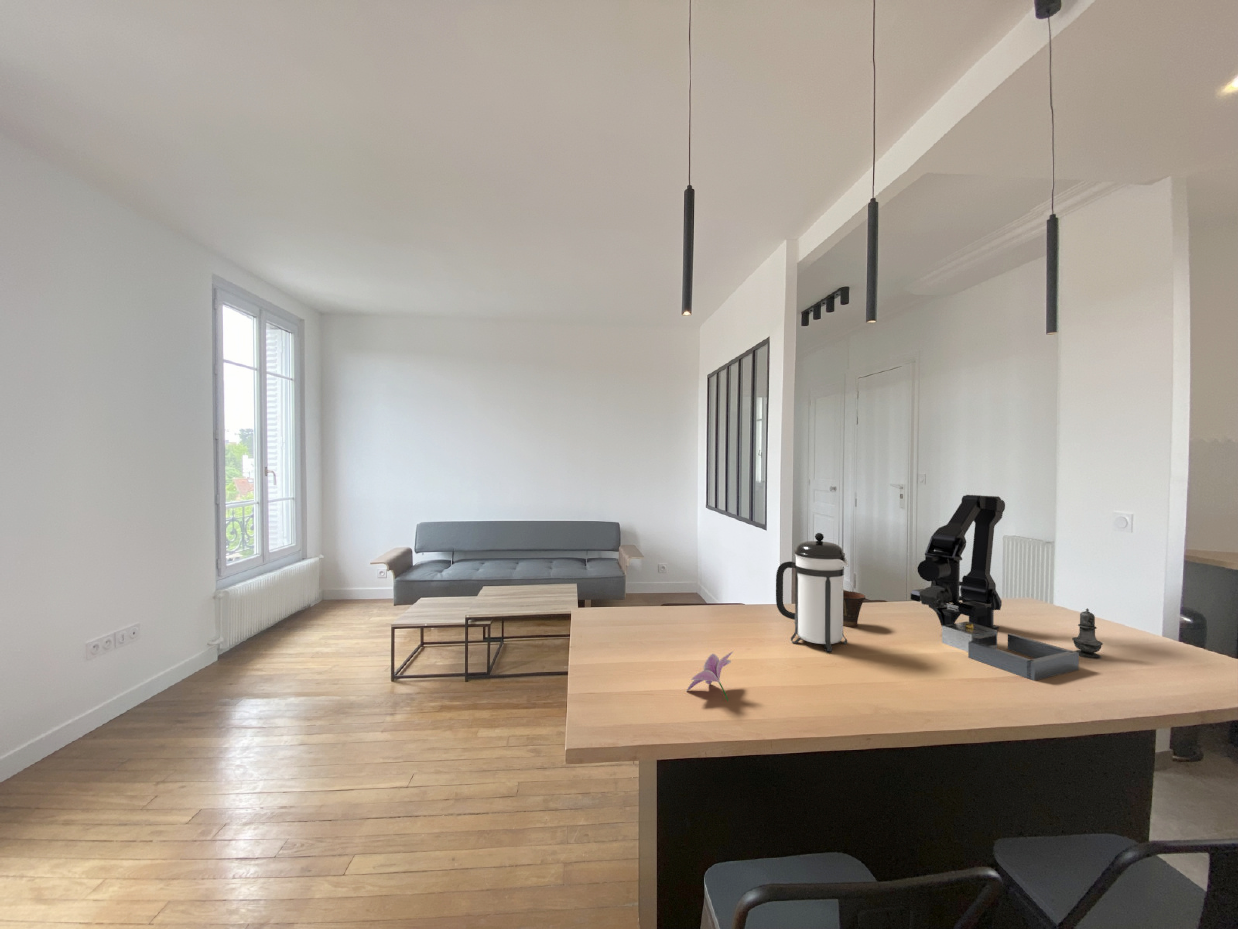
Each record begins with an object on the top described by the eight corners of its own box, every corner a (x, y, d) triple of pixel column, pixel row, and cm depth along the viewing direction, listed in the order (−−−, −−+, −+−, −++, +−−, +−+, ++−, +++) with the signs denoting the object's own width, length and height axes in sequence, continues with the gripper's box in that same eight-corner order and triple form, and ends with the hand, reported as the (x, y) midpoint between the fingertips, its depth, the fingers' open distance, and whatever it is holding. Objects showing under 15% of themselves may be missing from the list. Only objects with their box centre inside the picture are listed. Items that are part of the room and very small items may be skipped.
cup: (875, 627, 150) (869, 593, 150) (844, 631, 150) (839, 597, 150) (861, 619, 158) (856, 587, 159) (832, 623, 159) (828, 591, 159)
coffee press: (836, 633, 146) (837, 529, 146) (857, 654, 130) (858, 537, 130) (775, 631, 148) (775, 528, 148) (787, 651, 132) (788, 536, 132)
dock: (1011, 648, 135) (1011, 633, 135) (1078, 669, 121) (1078, 652, 121) (968, 657, 129) (968, 641, 129) (1034, 680, 115) (1034, 663, 115)
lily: (739, 688, 113) (721, 646, 116) (759, 689, 102) (737, 642, 105) (691, 711, 110) (673, 667, 113) (706, 715, 99) (685, 665, 102)
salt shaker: (1075, 656, 130) (1076, 609, 130) (1068, 649, 135) (1068, 604, 135) (1106, 661, 127) (1107, 612, 127) (1098, 653, 132) (1098, 607, 132)
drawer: (967, 639, 143) (967, 617, 143) (999, 650, 135) (1000, 627, 135) (942, 643, 139) (942, 621, 139) (974, 655, 131) (974, 631, 131)
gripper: (897, 572, 148) (896, 625, 148) (960, 587, 131) (959, 648, 131) (924, 569, 152) (923, 621, 152) (989, 584, 135) (988, 642, 135)
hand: (946, 632), depth 143 cm, fingers closed
